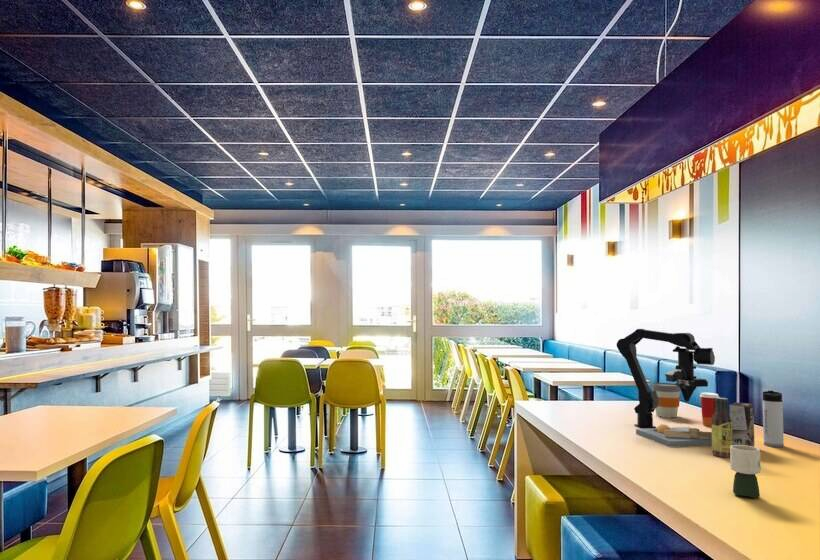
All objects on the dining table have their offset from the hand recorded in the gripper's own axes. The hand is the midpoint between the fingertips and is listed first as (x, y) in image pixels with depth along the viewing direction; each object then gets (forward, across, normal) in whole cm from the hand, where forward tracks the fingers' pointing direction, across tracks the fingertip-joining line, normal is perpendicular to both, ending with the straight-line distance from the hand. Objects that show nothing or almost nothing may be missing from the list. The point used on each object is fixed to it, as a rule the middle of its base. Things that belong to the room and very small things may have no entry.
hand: (686, 401), depth 228 cm
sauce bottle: (+13, +33, -11) cm, 37 cm away
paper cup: (+13, -12, +20) cm, 27 cm away
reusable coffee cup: (+13, -35, +15) cm, 40 cm away
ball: (+10, +4, -14) cm, 18 cm away
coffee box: (+13, +25, +4) cm, 29 cm away
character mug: (+13, +71, -35) cm, 80 cm away
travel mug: (+13, +23, +19) cm, 33 cm away
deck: (+13, +8, -10) cm, 18 cm away
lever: (+11, +16, -9) cm, 21 cm away
